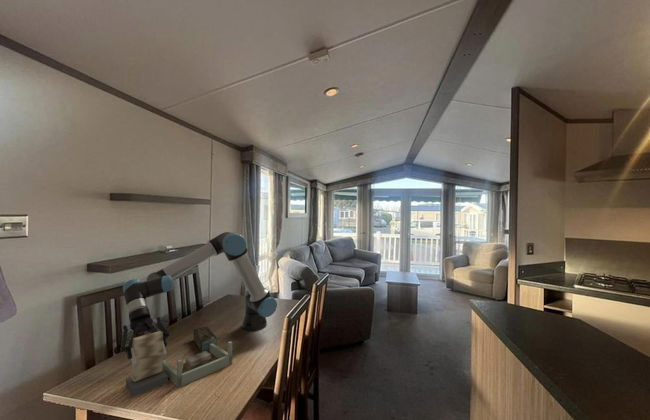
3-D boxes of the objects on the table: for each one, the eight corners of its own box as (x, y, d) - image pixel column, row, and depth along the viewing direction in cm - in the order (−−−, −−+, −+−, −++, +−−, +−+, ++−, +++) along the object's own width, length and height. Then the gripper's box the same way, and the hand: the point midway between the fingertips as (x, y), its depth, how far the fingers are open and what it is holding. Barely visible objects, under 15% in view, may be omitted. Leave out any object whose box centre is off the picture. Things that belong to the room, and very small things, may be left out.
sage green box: (212, 351, 143) (212, 331, 143) (232, 363, 131) (232, 342, 131) (160, 370, 125) (161, 347, 125) (178, 387, 113) (178, 361, 113)
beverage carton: (201, 353, 141) (201, 340, 141) (192, 340, 156) (193, 328, 156) (217, 349, 145) (217, 336, 146) (207, 336, 161) (208, 325, 161)
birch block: (159, 368, 119) (160, 330, 119) (162, 371, 117) (163, 332, 117) (131, 378, 111) (132, 338, 112) (134, 381, 109) (135, 340, 110)
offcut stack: (206, 363, 131) (206, 350, 131) (212, 367, 127) (213, 354, 128) (182, 372, 123) (182, 358, 123) (188, 377, 119) (188, 363, 119)
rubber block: (158, 374, 122) (158, 367, 122) (167, 383, 115) (167, 375, 115) (125, 386, 113) (126, 379, 113) (133, 397, 106) (133, 389, 106)
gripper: (164, 310, 133) (177, 354, 122) (104, 323, 116) (114, 376, 105) (168, 301, 130) (182, 345, 119) (108, 313, 113) (118, 367, 102)
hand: (150, 360), depth 112 cm, fingers closed on birch block, 10 cm apart
